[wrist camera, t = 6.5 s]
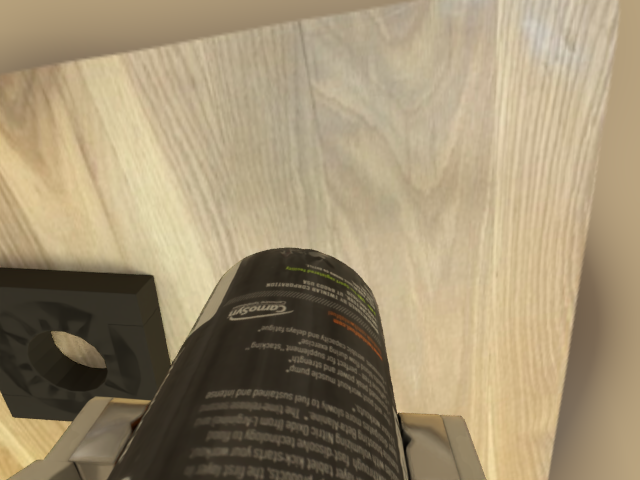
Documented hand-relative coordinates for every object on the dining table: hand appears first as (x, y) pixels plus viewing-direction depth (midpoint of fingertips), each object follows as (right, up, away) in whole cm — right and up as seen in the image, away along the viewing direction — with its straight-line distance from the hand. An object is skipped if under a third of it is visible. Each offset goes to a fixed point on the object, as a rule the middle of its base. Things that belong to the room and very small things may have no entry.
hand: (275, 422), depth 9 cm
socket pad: (-22, -5, +27) cm, 35 cm away
